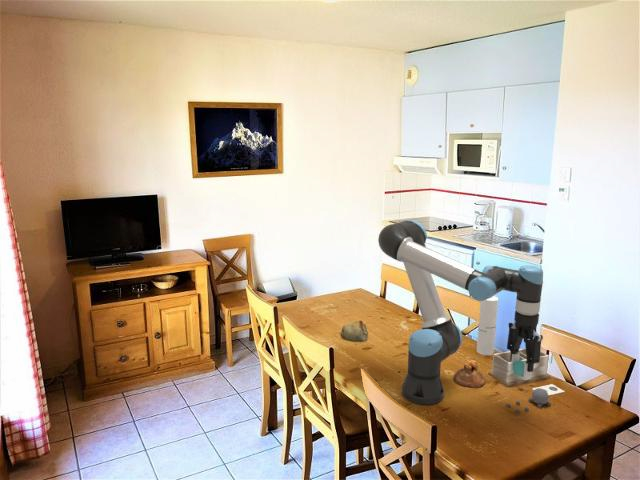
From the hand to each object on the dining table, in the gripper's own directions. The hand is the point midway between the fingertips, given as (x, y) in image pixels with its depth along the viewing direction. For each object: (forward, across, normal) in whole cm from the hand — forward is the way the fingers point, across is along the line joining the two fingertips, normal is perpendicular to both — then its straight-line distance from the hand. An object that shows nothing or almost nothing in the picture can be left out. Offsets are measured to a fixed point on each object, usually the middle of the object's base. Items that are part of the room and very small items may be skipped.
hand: (520, 375), depth 174 cm
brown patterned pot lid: (+13, +23, +3) cm, 26 cm away
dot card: (+13, +6, -20) cm, 24 cm away
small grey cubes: (+13, 0, -5) cm, 14 cm away
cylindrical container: (+13, +42, -20) cm, 48 cm away
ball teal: (0, 0, 0) cm, 0 cm away
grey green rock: (+13, +77, +27) cm, 83 cm away
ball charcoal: (+13, 0, -10) cm, 16 cm away
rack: (+13, +19, -18) cm, 29 cm away
